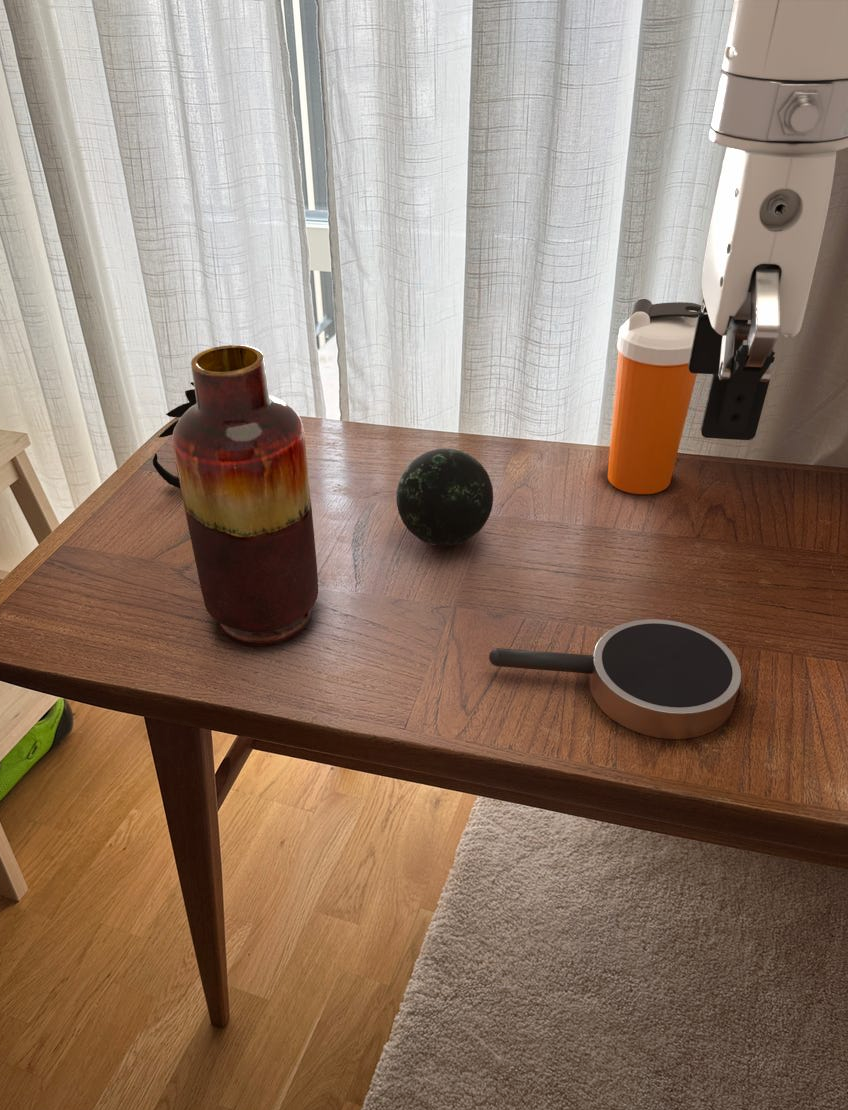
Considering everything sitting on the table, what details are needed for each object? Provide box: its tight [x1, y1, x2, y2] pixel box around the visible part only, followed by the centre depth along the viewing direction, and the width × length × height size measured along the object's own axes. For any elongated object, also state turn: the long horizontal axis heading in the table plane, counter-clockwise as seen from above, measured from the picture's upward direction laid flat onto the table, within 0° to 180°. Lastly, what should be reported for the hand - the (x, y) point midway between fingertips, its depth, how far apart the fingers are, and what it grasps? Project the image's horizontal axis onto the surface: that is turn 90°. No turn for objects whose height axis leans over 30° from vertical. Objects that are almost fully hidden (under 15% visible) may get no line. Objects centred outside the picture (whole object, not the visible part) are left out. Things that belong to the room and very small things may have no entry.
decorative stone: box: [395, 447, 494, 547], centre depth 95 cm, size 10×10×10 cm
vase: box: [171, 344, 319, 647], centre depth 81 cm, size 11×11×26 cm
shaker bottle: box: [607, 298, 705, 495], centre depth 100 cm, size 9×9×20 cm
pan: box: [488, 618, 742, 740], centre depth 79 cm, size 21×12×3 cm, turn 80°
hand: (718, 402), depth 61 cm, fingers open, 9 cm apart
